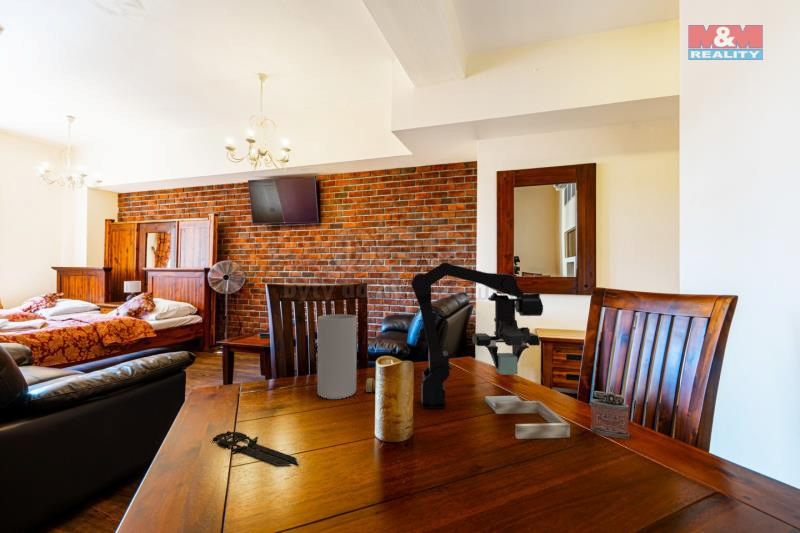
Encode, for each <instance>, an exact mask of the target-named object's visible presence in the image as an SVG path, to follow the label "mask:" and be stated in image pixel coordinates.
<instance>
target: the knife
mask: <svg viewBox="0 0 800 533" xmlns="http://www.w3.org/2000/svg"><path fill="white" fill-rule="evenodd" d="M227 435H228V436H227ZM229 435H230V436H229ZM223 437H224V438H223ZM232 438H234V439H233V440H230V439H232ZM241 439H242V440H245V439H246V440H248V443H247V445H244V444H243V445H242V446H241V445H240V444H239V443H240V442H242V441H240V440H241ZM258 440H259V437H258V436H256V437H254V438H253V439H252V438H251V437H250V436H249V435H247V434H245V433H243V432H239V431H229V430H228V431H226V432H221V433H218V434H216V436H214V437H212V442H213V441H214V442H213V443H216V442H215V441H217V445H218V446H219V445H220V446H219V447H220V448H223V447H224V449H226V448H228V449H230V448H229V446H230V447H233V449H231V455H235V454H236V453H237V454H241V453H246V454H248V455H250V456H253V457H255V458H258V459H261V460H264V461H266V462H269V463H272V464H275V465H277V466H286V465H293V464H294V465H297V466H300V465H299V461H298V459H297V457H296V456H293V455H289V454H286V453H284V452H281V451H278V450H275V449H273V448H270V447H268V446H267V447H266V446H265V445H262V444H258ZM238 442H239V443H238ZM234 447H235V448H234ZM249 447H250V448H249Z"/></svg>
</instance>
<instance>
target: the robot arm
mask: <svg viewBox="0 0 800 533" xmlns="http://www.w3.org/2000/svg"><path fill="white" fill-rule="evenodd" d="M446 276H447V277H451V278H455V279H460V280H463V281H464V280H465V281H468V282H472V283H475V284H480V285H483V286H485V287H487V288H489V289H491V290H493V291H495V292H492V294H491V295H490V296H489V297H488V298H487V299H488V301H490V302H494V307H495V308H494V309H495V310H494V312H495V314H494V315H495V317H494V318H493V321H494V323H495V324H494V326H495V327H494V328H495V331H494V332H493V335H491V336H490V335H489V334H487V333H486V332H484V333H483V332H481V333H473V334H472V338H471V339H472V343H473V345H476V346H477V347H485V348H486V349H487V350H488V352H489V354H490V356H491V359H492V361H493V364H494V368H495V367H496V369H498V355H497V353H498V350H499V347H498V346H497V345H496V344H497V343H504V344H505V345H506V346H508V347H511V349H512V351H511V353H512V354H513V355H515V356H517V365H518V363H519V361H520V358H521V356H522V354H523V352H524V351H525V350H526V349H529V348H530V346H533V347H534V346H540V345H541V339H540V336H539V335H538V334H535V333H532V332H531V330H530V328H529V327H528V326H527V327H519V326H518V320H516V313H518V314H519V316H520V317H541V316H542V315H543V312H544V305H543V302H542V301H543V300H542V299H541V295H540V293H538V292H537V293H536V292H533V293H524V292H523V291H522V289H521V288H520V287H519V285H518V282H517V279H516V277H515V276H514V275H512V274H510V273H509V274H508V273H496V272H494V273H493V272H485V271H480V270H477V269H473V268H468V267H464V266H459V265H456V264H452V263H450V262H448V261H447V262H446V261H444V262H441V263H439V265H438V266H436V267H434V268H432V269H431V270H429V271H427V272H426V273H424V274H423V273H418V274H416V275H414V276H413V278H412V279H411V287H412V290H413V293H414V296H415V298H416V299H417V303H418V306H419V309H420V313H421V318H422V323H423V329H424V332H425V333H424V334H425V337H426V342H427V347H428V348H427V349H428V366H427V367H426V369H424V370H423V371H422V373H421V374H422V381H421V386H420V388H421V389H420V391H421V398H420V403H421V407H422V409H445V408H446V405H445V404H446V389H445V387H444V382H445V381H446V380H447V379H448V378H449V377H450V374H451V373H450V370H452V366H451V364H450V356H449V354H448V351H447V350H444V351H443V350H442V348H441V344H440V343H441V342H440V339H439V333H438V329H437V325H436V320H435V314H434V309H433V305H432V285H434V284H436V282H439V280H441V279H442V278H444V277H446ZM496 292H498V293H501V294H500V295H499V294H498V293H496ZM509 296H511V297H515V298H509Z"/></svg>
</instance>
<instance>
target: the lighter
mask: <svg viewBox="0 0 800 533" xmlns="http://www.w3.org/2000/svg"><path fill="white" fill-rule="evenodd" d="M593 397H595V398H591V399H590V405H591V406H590V412H591V417H590V418H591V425H590V431H591V432H592V433H595V434H598V435H601V436H608V437H610V438H611V437H613V438H619V439H629V438H630V432H629V410H630V406H629V404H627V403H625V402H624V403H623V401H624V396H623V395H621V394H616V393H614V392H612V391H608V392H605V391H598V390H594V391H593ZM597 398H599V399H597Z"/></svg>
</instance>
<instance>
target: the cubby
mask: <svg viewBox="0 0 800 533" xmlns="http://www.w3.org/2000/svg"><path fill="white" fill-rule="evenodd" d="M494 412H495V414H496V415H503V414H505V415H507V414H510V415H512V414H513V415H514V414H538V415H539V416H541V417H542V418H543V419H544V420H545V421H546V422H548V423H515V431H514V432H515V438H516V439H518V440H523V439H525V440H526V439H527V440H529V439H562V438H564V439H565V438H566V439H567V438H571V424H570V423H569V422H567V421H566V420H565V419H563V418H562V417H561V416H560V415H559V414H557V413H556V412H555V411H553V409H551V408H550V407H548V406H547V405H545V403H543V402H542V401H541V400H522V401H507V402H495V411H494Z"/></svg>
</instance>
